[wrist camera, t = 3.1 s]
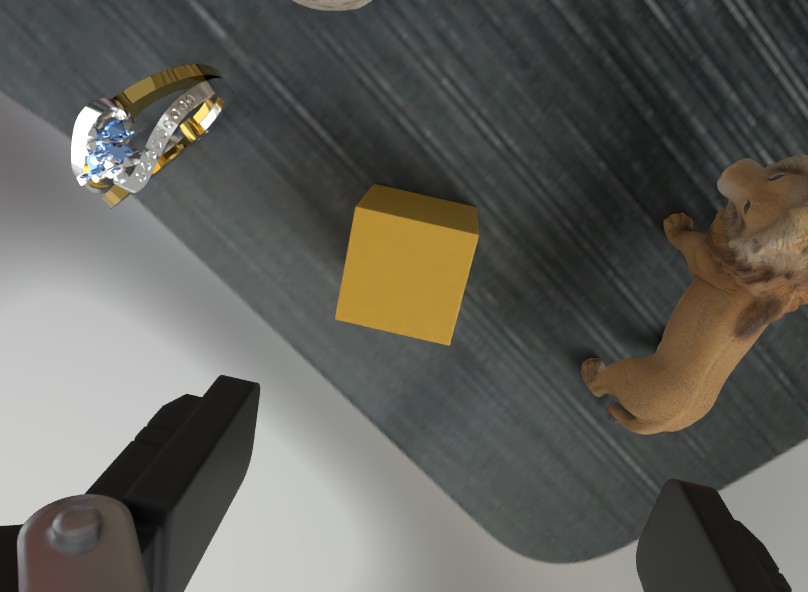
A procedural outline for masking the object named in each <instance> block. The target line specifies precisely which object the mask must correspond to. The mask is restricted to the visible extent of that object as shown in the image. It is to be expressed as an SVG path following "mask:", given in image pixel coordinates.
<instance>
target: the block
mask: <svg viewBox="0 0 808 592" xmlns="http://www.w3.org/2000/svg"><path fill="white" fill-rule="evenodd" d="M478 237H479V230H478V219H477V208H476V207H473V206H469V205H465V204H460V203H456V202H452V201H447V200H443V199H439V198H434V197H430V196H426V195H421V194H417V193H412V192H408V191H404V190H399V189H395V188H391V187H386V186H382V185H378V184H373V185H372V186H371V188H370V189H369V190H368V192H367V193H366V194H365V195H364V197H363V198H362V199H361V200H360V202H359V203H358V204H357V206H356V207H355V212H354V217H353V223H352V228H351V234H350V239H349V245H348V250H347V256H346V261H345V267H344V272H343V278H342V283H341V289H340V294H339V300H338V305H337V311H336V316H335V319H337V320H341V321H345V322H350V323H354V324H358V325H363V326H367V327H371V328H375V329H380V330H384V331H388V332H393V333H397V334H401V335H405V336H410V337H414V338H418V339H423V340H427V341H431V342H436V343H440V344H444V345H448V346H449V345H450V342H451V338H452V335H453V331H454V327H455V323H456V320H457V316H458V312H459V309H460V305H461V301H462V297H463V294H464V290H465V286H466V282H467V279H468V275H469V271H470V267H471V264H472V260H473V256H474V252H475V249H476V245H477V241H478Z"/></svg>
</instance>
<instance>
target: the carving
mask: <svg viewBox="0 0 808 592" xmlns="http://www.w3.org/2000/svg"><path fill="white" fill-rule="evenodd" d="M292 1H294V2H296V3H299V4H301V5H304V6H306V7H309V8H313V9H317V10H325V11H344V10H351V9H356V8H360V7H362V6H364V5H366V4H367V3H369V2H371V1H372V0H292Z"/></svg>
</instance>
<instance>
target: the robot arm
mask: <svg viewBox="0 0 808 592" xmlns="http://www.w3.org/2000/svg"><path fill="white" fill-rule="evenodd" d="M259 396H260V385H259V383H255V382H251V381H247V380H242V379H238V378H233V377H229V376H225V375H220V376H219V377H218V378H217V379H216V381H215V382H214V383H213V384H212V386H211V387H210V388H209V389H208V391H207V392H206V393H205V394H204V396H203V397H198V396H194V395H189V394H185V395H183V396H181V397H180V398H178V399H175V400H174V401H172V402H170V403H168V404H166V405H164V406H162V408H161V409H160V410H159V411H158V412H157V413H156V414H155V415H154V417H153V418H152V419H151V420H150V421H149V423H148V424H147V427H144V428H143V429H142V430H141V431H140V432H139V433H138V435H137V436H136V437H135V440H134V441H132V442H130V444H129V445H128V446H127V447H126V448H125V449H124V450H123V451H122V453H121V454H120V455H119V456H118V457H117V458H116V459H115V460H114V461H113V463H112V464H111V465H110V466H109V467H108V468H107V469H106V471H105V472H104V473H103V474H102V475H101V476H100V477H99V478H98V479H97V481H96V482H95V483H94V484H93V485H92V486H91V487H90V488H89V490H88V491H87V492H86V493H85V494H84V495H77V496H71V497H67V498H63V499H60V500H57V501H55V502H52V503H50V504H48V505H46V506H44V507H43V508H41V509H40V510H38V511H37V512H35V513H34V514H33V515H32V516H31V517H30V518H29V519H28V520H27V521H26V522H25V523H24V524H21V525H10V526H0V592H184V590H185V589H186V586H187V585H188V583H189V581H190V579H191V577H192V575H193V573H194V572H195V570H196V568H197V566H198V564H199V562H200V560H201V559H202V557H203V555H204V553H205V551H206V549H207V547H208V545H209V544H210V542H211V540H212V538H213V536H214V534H215V532H216V531H217V529H218V527H219V525H220V523H221V521H222V519H223V517H224V515H225V514H226V512H227V510H228V508H229V506H230V504H231V502H232V501H233V499H234V497H235V495H236V493H237V491H238V489H239V487H240V486H241V484H242V482H243V480H244V477H245V475H246V472H247V469H248V466H249V463H250V460H251V455H252V449H253V443H254V435H255V427H256V420H257V412H258V404H259ZM636 564H637V572H638V575H639V578H640V581H641V584H642V587H643V590H644V592H791V590H792V589H791V587H790V586H789V584H788V582H787V581H786V579H785V578H784V576H783V575H782V574H781V573H779V568H778V567H777V565H776V563H775V562H774V560H773V559H772V557H771V556H770V554H769V552H768V551H767V549H766V547H765V546H764V545H763V543H762V542H760V540H758V539H757V538H756V537H755V536H754V535H753V534H752V533H751V532H750V531H749V530H748V529H747V528H746V527H745V526H744V525H743V524H742V523H741V522H740V521H737V520H734V518H733V517H732V515H731V513H730V512H729V510H728V508H727V507H726V505H725V503H724V502H723V500H722V499H721V497H720V495H719V493H718V492H717V491H716V490H715V489H714V488H712V487H708V486H703V485H699V484H695V483H690V482H686V481H681V480H677V479H670V480H668V481H667V482H666V483H665V485H664V487H663V488H662V491H661V493H660V495H659V497H658V499H657V502H656V504H655V506H654V508H653V510H652V512H651V515H650V517H649V519H648V521H647V523H646V526H645V528H644V530H643V532H642V534H641V537H640V539H639V542H638V546H637V553H636Z"/></svg>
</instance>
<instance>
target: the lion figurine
mask: <svg viewBox="0 0 808 592" xmlns="http://www.w3.org/2000/svg"><path fill="white" fill-rule="evenodd" d="M717 187H718V190H719V191H720V193H722V194H723V195H724V196H725V197H727V198H728V199H729V200H728V204H727V205H726V206H725V208H724V209H723V210H722V211H720V212H718V213H717V214H716V218H715V220H714V221H713V223H712V224H711V225H710V227H709V228H708V230H707V233H701V232H695V231H692V228H693V221H692V219H691V218H690V217H688V216H686V214H685V213H683V212H681V213H678V214H677V213H674V214H672V215H671V216H670V217H668V218H666V219H664V221H663V223H664V231H665V234H666V236H667V239H668V240H669V242H671V243H672V244H673V245H674V246H675V248H677V249H678V250H681V252H682V253H683V254H684V256H685V258H686V260H687V263H688V266H689V269H690V271H691V273H692V274H694V275H696V278H695V279H694V280H693V281H692V283H691V284H690V285H689V287H688V288H687V289H686V291H685V292H684V293H683V295H682V296H681V298H680V299H679V301H678V303H677V305H676V307H675V309H674V310H673V312H672V314H671V316H670V318H669V320H668V322H667V325H666V327H665V330H664V333H663V338H662V341H661V342H660V344H659V345H658V347H657V352H656V353H655V354H654V355H652V356H649V357H632V358H626V359H621V360H618V361H616V362H614V363H612V364H611V365H609V366H608V367H607V368H606V366H605V364H604V363H603V361H602V359H600V358H589V359H587V360H585V361H584V362H583V364H582V367H581V374H582V377H583V379H584V382H585V383H586V385H587V386H588V388H589V390H590V391H591V392H592V393H593V394H594V395H595V396H597V397H601V396H603V395H604V394H611V395H614V396H615V397H617V398H618V399H619V400H620V402H621V403H622V404H623V406H624V407H625V408H626V409H627V410H628V411H629V412H628V411H627V410H625V409H624V408H623V407H622V406H621V405H620V404H619V403H617V402H613V403H611V404H610V405H609V407H608V408H607V409H606V412H607V418H608V420H609V421H610V422H615V423H617V422H619V423H620V424H621V425H623V426H624V427H625V428H626V429H628V430H630V431H632V432H636V433H639V434H654V433H658V432H661V431H677V430H680V429H683V428H685V427H688V426H690V425H691V424H693V423H694V422H696V421H697V420H699V419H700V418H702V417H703V416H704V415H705V414H706V413H707V412H708V411H709V410H710V409H711V407H712V406H713V404H714V402H715V400H716V398H717V396H718V394H719V392H720V390H721V388H722V386H723V384H724V382H725V380H726V379H727V378H728V376H729V375H730V373H731V372H732V370H733V369H734V368H735V366H736V365H737V364H738V362H739V361H740V360H741V359H742V357H743V356H744V355H745V354H746V352H747V351H748V350H749V349H750V348H751V346H752V345H753V344H754V342H755V341H756V340H757V339H758V337H759V336H760V334H761V333H762V332H763V330H764V329H765V328H766V327H767V325H768V324H770V323H773V322H776V321H778V320H780V319H781V318H782V317H783V316H784V314H785V313H788V312H793V311H796V310H797V309H798V307H799V305H804V304H808V155H805V154H798V155H796V156H792V157H789V158H785V159H782V160H780V161H779V162H778V163H776V164H770V165H768V166H767V167H766V168H764V167H762V166H761V165H760V164H759V163H758V162H756V161H754V160H752V159H749V158H746V159H741V160H739V161H737V162H736V163H733V164H732V165H730V166H728V167H727V168H726V169H725V170H724V171H723V173H722V174H721V177H720V178H719V180H718V182H717Z"/></svg>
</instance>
